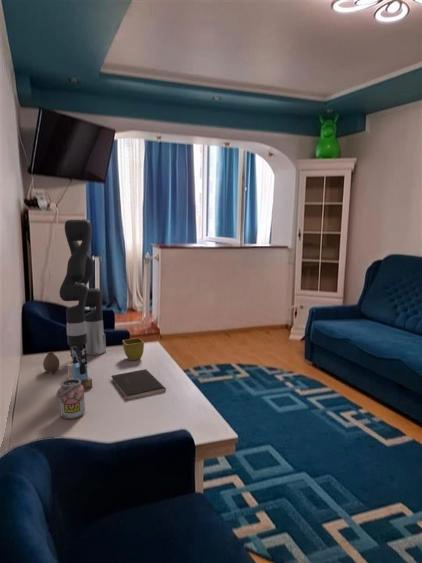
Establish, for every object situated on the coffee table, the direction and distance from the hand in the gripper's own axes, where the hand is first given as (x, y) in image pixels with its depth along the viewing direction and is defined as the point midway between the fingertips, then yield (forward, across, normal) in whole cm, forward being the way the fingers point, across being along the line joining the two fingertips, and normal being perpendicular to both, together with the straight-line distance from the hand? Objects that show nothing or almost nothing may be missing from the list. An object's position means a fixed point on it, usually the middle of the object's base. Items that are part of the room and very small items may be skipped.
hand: (79, 370), depth 171 cm
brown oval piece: (+7, +26, +5) cm, 27 cm away
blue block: (+3, 0, 0) cm, 3 cm away
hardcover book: (+8, -12, -20) cm, 24 cm away
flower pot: (+7, +19, -32) cm, 38 cm away
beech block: (+7, +12, -2) cm, 14 cm away
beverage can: (+7, -22, +10) cm, 25 cm away
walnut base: (+7, 0, 0) cm, 7 cm away
